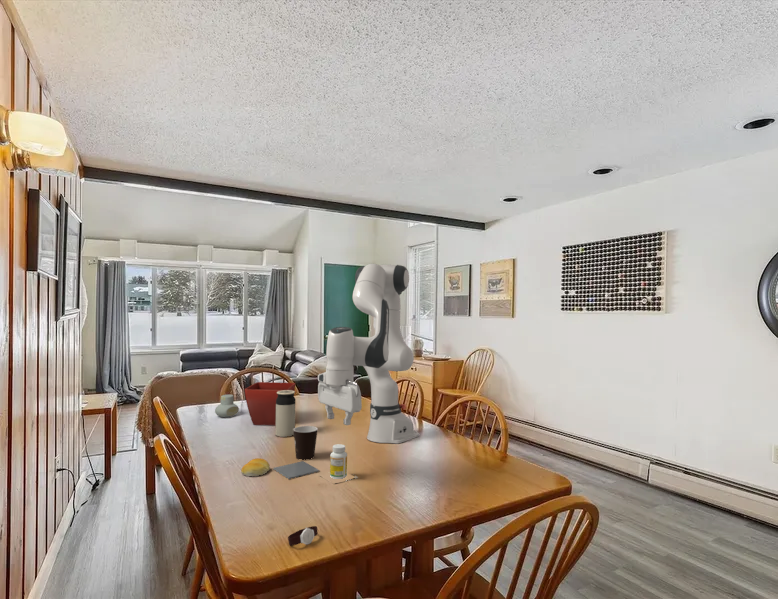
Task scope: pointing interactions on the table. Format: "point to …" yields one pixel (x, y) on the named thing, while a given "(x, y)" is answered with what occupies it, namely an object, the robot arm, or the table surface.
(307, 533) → the watch
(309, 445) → the coffee mug
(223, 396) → the air freshener
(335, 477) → the supplement bottle
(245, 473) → the bread roll
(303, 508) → the table surface
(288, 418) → the travel mug
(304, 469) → the slate coaster
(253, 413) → the plant pot
